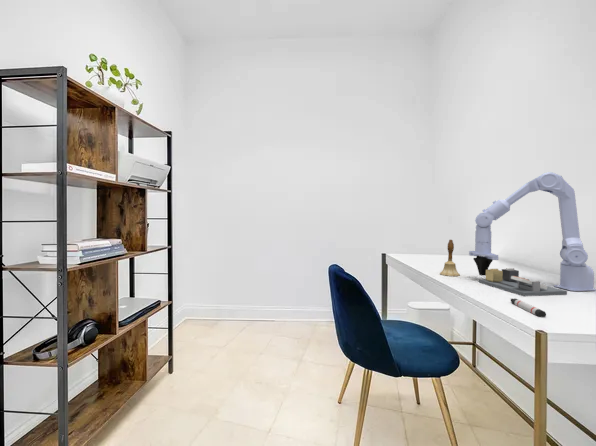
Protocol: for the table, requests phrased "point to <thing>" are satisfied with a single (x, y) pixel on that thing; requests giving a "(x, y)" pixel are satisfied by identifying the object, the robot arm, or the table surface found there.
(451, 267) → the hand bell
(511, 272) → the black slider
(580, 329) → the table surface
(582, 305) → the table surface
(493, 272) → the brass slider
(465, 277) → the table surface
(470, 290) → the table surface
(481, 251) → the robot arm
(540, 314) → the marker
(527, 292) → the panel
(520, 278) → the rocker
